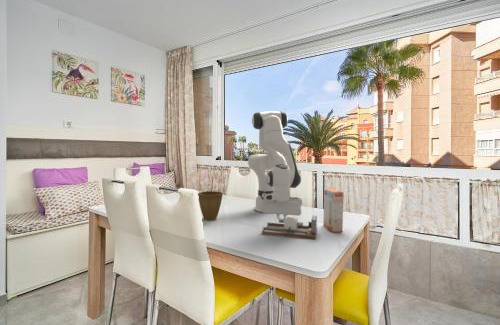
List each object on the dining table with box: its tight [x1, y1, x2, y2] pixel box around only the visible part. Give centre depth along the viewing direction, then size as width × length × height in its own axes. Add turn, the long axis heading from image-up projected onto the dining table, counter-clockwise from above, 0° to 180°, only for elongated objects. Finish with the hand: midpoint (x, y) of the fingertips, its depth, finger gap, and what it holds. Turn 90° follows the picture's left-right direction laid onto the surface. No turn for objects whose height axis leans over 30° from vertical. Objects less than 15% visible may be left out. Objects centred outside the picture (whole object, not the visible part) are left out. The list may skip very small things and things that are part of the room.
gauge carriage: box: [283, 215, 304, 230], centre depth 138 cm, size 10×9×6 cm
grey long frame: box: [262, 215, 318, 235], centre depth 140 cm, size 10×26×7 cm, turn 73°
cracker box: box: [322, 188, 344, 233], centre depth 147 cm, size 14×6×21 cm, turn 3°
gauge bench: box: [261, 224, 318, 240], centre depth 141 cm, size 15×26×2 cm, turn 73°
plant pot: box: [197, 190, 223, 221], centre depth 166 cm, size 15×15×16 cm
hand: (281, 222), depth 142 cm, fingers closed
